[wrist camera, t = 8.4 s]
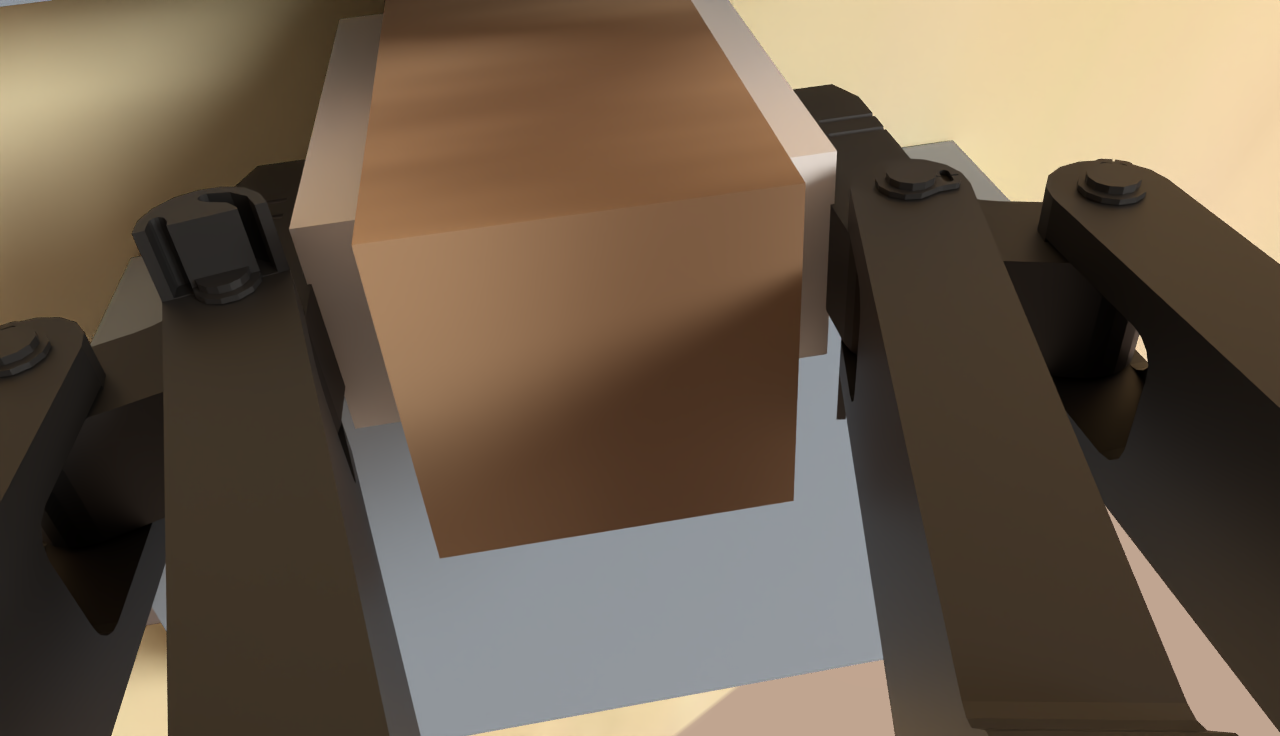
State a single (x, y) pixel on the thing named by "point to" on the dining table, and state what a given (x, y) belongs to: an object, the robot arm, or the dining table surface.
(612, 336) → the peg
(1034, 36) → the dining table surface
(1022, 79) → the dining table surface
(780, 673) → the dock block
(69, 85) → the dining table surface
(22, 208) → the dining table surface
